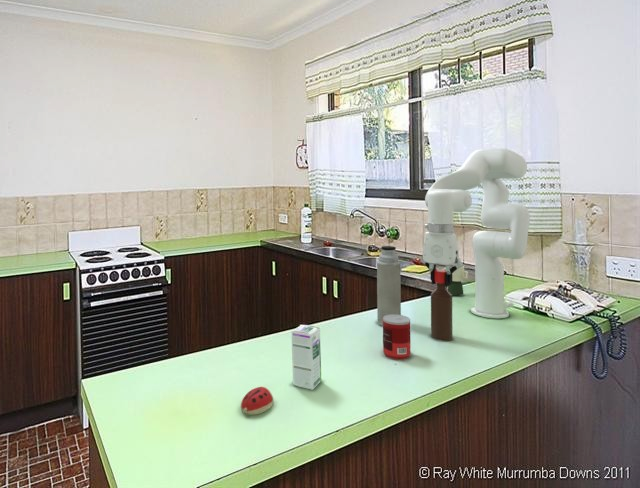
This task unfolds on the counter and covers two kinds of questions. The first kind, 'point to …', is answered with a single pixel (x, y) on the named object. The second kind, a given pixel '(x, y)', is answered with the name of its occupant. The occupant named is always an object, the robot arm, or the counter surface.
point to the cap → (440, 276)
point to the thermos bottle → (388, 284)
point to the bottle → (441, 313)
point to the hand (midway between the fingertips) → (441, 283)
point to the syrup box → (306, 356)
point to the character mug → (457, 281)
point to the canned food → (396, 336)
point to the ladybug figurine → (257, 401)
